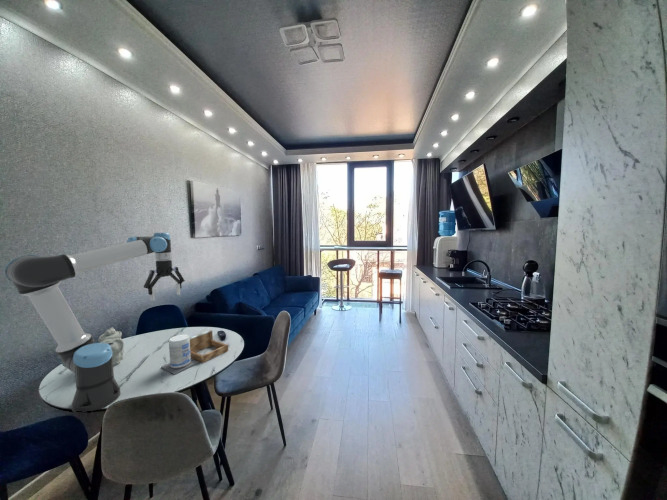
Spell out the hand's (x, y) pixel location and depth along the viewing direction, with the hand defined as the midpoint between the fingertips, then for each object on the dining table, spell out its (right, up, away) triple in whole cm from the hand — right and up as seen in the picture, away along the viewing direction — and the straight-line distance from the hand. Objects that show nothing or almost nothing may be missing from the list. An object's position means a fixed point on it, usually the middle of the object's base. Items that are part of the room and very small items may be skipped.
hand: (166, 297), depth 143 cm
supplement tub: (+13, -35, -7) cm, 38 cm away
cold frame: (+20, -34, +6) cm, 40 cm away
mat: (+13, -35, -7) cm, 38 cm away
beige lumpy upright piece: (-27, -36, -6) cm, 45 cm away
